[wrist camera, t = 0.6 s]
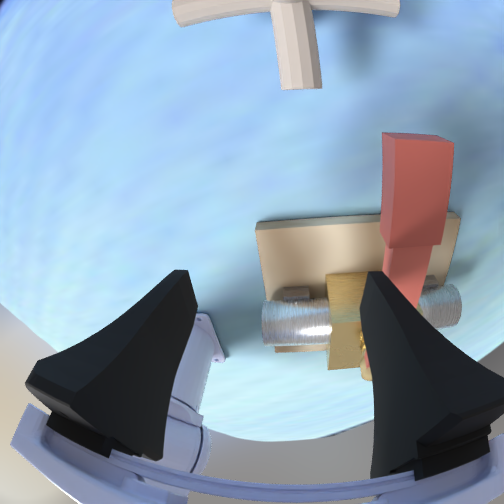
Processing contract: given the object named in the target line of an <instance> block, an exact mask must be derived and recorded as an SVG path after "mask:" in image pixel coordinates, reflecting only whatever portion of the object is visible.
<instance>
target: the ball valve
mask: <svg viewBox="0 0 504 504" xmlns="http://www.w3.org/2000/svg"><path fill="white" fill-rule="evenodd" d="M376 271H382V270H376ZM367 274H368V271H364V272H351V273H338V274H325V297H324V298H310V295H309V286H292V287H284V288H283V300H270V301H264V302H263V306H262V337H263V342H264V345H265V346H295V345H315V344H326V351H327V365H328V370H335V369H346V368H356V367H360V361H361V359H362V358H363V357H364V355H365V352H366V347H365V342H364V338H363V333H362V327H361V319H360V310H359V308H360V304H361V300H362V296H363V292H364V287H365V283H366V278H367ZM438 285H439V283H438V281H437V279H436V278H435V276H434V275H426V277H425V281H424V284H423V288H422V291H421V295H420V298H419V301H418V304H417V308H416V309H417V311H418V312H419V313H420V314H421V315H422V316H423V317H424V318H425V319H426V320H427V321H428V322H429V323H430V324H431V325H432V326H433V327H434V328H435V329H436V330H438V329H443V328H448V327H453V326H455V325H456V324H457V323H458V322H459V319H460V316H461V310H462V304H461V297H460V294H459V291H458V289H457V288H456V287H455V286H454V285H452V284H450V285H443V286H438Z"/></svg>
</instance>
